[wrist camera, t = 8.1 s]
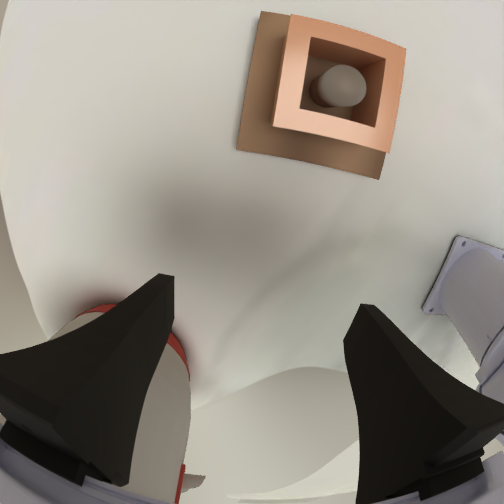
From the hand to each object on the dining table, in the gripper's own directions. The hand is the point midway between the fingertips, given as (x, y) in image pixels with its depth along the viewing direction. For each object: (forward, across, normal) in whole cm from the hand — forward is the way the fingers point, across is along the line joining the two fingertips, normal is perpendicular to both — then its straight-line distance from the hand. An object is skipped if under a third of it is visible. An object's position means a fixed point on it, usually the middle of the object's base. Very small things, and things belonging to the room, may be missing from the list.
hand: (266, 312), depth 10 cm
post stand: (+10, -2, -9) cm, 14 cm away
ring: (+8, -2, -9) cm, 13 cm away
